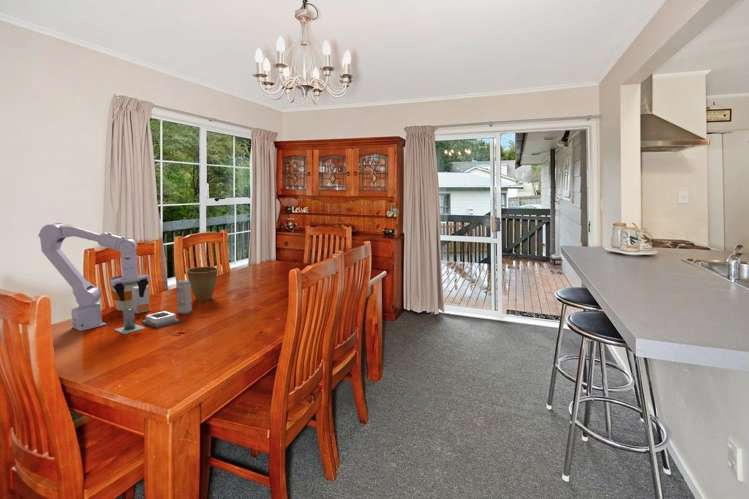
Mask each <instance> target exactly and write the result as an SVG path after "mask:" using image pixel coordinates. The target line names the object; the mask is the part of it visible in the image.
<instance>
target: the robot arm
mask: <svg viewBox="0 0 749 499" xmlns="http://www.w3.org/2000/svg"><path fill="white" fill-rule="evenodd" d="M37 235H38V236H37V237H39V239H40V248H41V253H43V255H44V256H45V257H46V258H47V260H48V261H49V262H50V263H51V264H52V265H53V267H54V268H55V269H56V270H57V272H58V273H59V274H60V275H61V276H62V277H63V279H64V280H65V281H66V282H67V283H68V285H69V286H70V287H71V288H72V294H73V295H74V297H75V302H76V303H77V305H78V306H77V307H73V308H72V309H71V322H72V323H71V324H72V325H71V328H74V329H76V330H77V331H79V332H80V331H81V332H83V331H85V330H90V329H91V330H92V329H93V328H97V327H102V326H106V325H107V323H105V322H103V319H102V305H101V301H100V299H101V297H102V291H101V289H100V288H99V287H96V286H94V285H93V284H92V282H90V281H88V280H87V279H86V278H85V277H84V276H83V275H82V274H81V272H80V271H79V270H78V269H77V267H76V266H75V265H74V264H73V263H72V261H71V260H70V259H69V258H68V257H67V255H66V254H65V253H64V252H63V250H62V249H61V247H62V244H63V241H65V239H66V238H71V237H77V238H79V239H84V240H88V241H93V242H96V243H97V244H98V245H99V246H100V247H103V248H108V249H111V250H113V251H119V252H120V264H121V265H120V266H121V276H122V278H120V279H116V280H111V281H109V282H111V285H112V286H113V287H114V289H115V290H116V292H117V293H118V295H119V298H120V301H124V300H125V298H124V287H125V286H123V285H122V284H124V283H130V282H135V281H137V283H138V288H139V296H140V297H144V292H145V289H146V286H148V284H149V280H151V279H150V274H142V275H141V274H140V275H139V269H138V268H139V267H138V255H137V248H138V243H137V241H136V240H135V239H132V238H131V237H128V238H126V236H123V235H122V236H119V235H115V234H113V232H111V231H110V232H103V233H97V232H95V231H91V230H88V229H85V228H82V227H78V226H75V225H72V224H67V223H66V224H65V223H63V222H56V223H53V224H46V225H43V226H42V228H41V229H40V231H39V234H37ZM138 275H139V276H138ZM111 285H110V286H111Z"/></svg>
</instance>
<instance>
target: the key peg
mask: <svg viewBox="0 0 749 499" xmlns="http://www.w3.org/2000/svg"><path fill="white" fill-rule="evenodd" d="M122 316H123V319H122V320H123V327H124V330H132V329H135V328H136V327H135V324H136V313H135V309H134V308H126V309H123V311H122Z"/></svg>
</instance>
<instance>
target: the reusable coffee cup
mask: <svg viewBox="0 0 749 499" xmlns="http://www.w3.org/2000/svg"><path fill="white" fill-rule="evenodd" d="M138 276H140V275H139V274H138ZM120 278H122V275H118V276H117V275H116V276H113V277H110V281H111V280H116V279H120ZM110 281H109V282H110ZM109 284H110V286H111V294H112V295H111V296H112V299H113V301H114V303H115V307H116V308H115V309H116V310H117V311H120V310H121V312H123V309H126V308H133V304H132V287H136V286H138V283H137V281H135V282H130V283H124V284H122V285H123V286H125V287H124V298H125V300H124V301H120V298H119V295H118V293H117V292H116V290H115V289H114V287H113V286H112V285H111V282H110V283H109Z"/></svg>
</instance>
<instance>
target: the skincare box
mask: <svg viewBox="0 0 749 499" xmlns="http://www.w3.org/2000/svg"><path fill="white" fill-rule="evenodd" d="M150 300H151V299H150V287H149V286H148V285H147V286H146V289H145V292H144V297H140V296H139V288H138V286H136V287H132V304H133V308H134V309H135V314H142V313H146V312H150V311H151V307H150V306H151V305H150Z"/></svg>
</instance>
